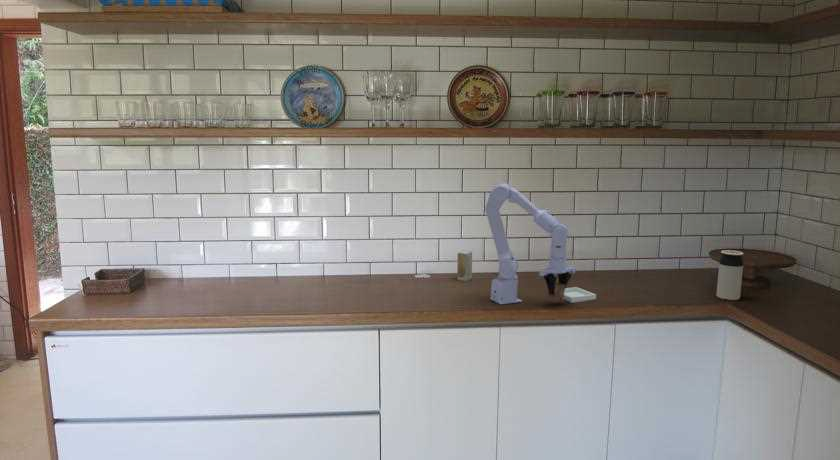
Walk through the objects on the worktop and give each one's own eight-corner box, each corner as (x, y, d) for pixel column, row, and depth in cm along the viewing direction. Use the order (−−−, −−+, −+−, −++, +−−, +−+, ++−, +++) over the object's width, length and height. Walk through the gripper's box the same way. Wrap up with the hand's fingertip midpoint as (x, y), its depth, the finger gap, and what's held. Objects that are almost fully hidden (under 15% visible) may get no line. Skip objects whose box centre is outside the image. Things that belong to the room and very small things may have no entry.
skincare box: (463, 277, 244) (463, 249, 242) (472, 278, 242) (472, 251, 240) (456, 280, 239) (457, 252, 237) (465, 281, 236) (466, 253, 234)
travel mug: (739, 301, 208) (744, 254, 205) (715, 298, 212) (719, 252, 209) (740, 296, 215) (744, 251, 212) (716, 293, 219) (721, 249, 216)
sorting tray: (571, 303, 205) (571, 297, 205) (552, 295, 216) (552, 290, 216) (596, 299, 210) (596, 294, 210) (576, 292, 220) (576, 287, 220)
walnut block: (555, 299, 201) (555, 285, 200) (548, 296, 204) (549, 283, 204) (564, 297, 202) (564, 284, 202) (557, 295, 206) (557, 282, 205)
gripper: (548, 260, 195) (546, 298, 197) (581, 257, 200) (579, 293, 202) (536, 256, 201) (534, 293, 203) (569, 253, 207) (567, 289, 209)
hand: (556, 293), depth 203 cm, fingers closed on walnut block, 4 cm apart
